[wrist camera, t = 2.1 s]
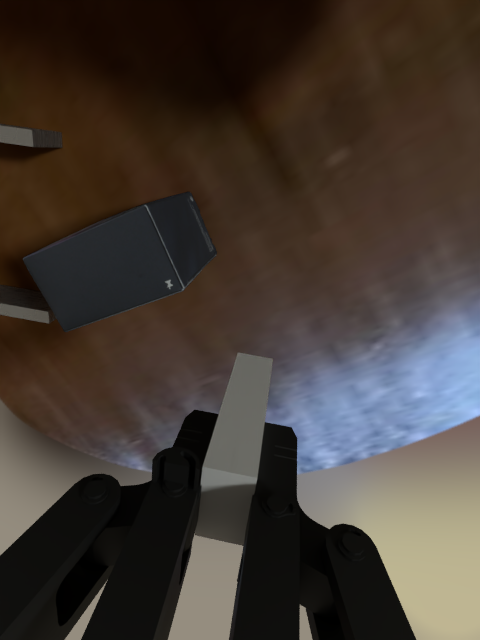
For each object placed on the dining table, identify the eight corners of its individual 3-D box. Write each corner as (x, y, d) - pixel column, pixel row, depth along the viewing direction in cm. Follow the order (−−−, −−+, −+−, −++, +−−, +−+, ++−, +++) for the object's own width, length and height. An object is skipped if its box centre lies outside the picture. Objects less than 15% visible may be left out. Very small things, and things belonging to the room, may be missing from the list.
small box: (190, 185, 33) (146, 198, 24) (219, 255, 35) (190, 293, 26) (90, 229, 36) (15, 256, 27) (123, 291, 38) (64, 337, 29)
